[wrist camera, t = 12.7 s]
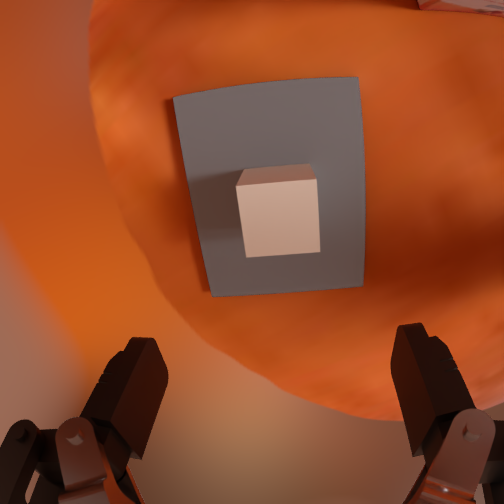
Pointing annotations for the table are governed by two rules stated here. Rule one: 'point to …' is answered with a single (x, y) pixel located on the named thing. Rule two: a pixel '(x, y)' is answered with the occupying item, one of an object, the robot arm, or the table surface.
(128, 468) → the robot arm
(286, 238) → the cream cube
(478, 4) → the cracker box
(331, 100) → the slate mat
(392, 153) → the table surface
